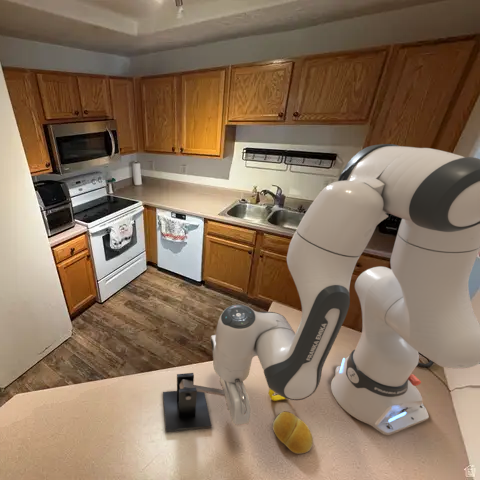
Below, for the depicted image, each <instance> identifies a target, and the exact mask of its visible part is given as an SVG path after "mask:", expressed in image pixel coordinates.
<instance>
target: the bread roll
mask: <svg viewBox="0 0 480 480" xmlns="http://www.w3.org/2000/svg"><path fill="white" fill-rule="evenodd" d="M271 426H272V429H273V431H274V434H275V436H276V437H277V439H278V440H279V441H280V442H281V443H282V444H284V445H285V446H286V448H288V449H289V451H291V452H292V453H294V454H305V453H308V452H310V451H311V449H312V446H313V443H314V442H313V441H314V440H313V435H312V432H311V430H310V428H309V426H308V425H307V424H306V423H305V422H304V420H302V419H300V418H299V417H298V416H296V414H294V413H293V412H291V411H282V412H280V413H278V415H277V416H276V418H275V419H274V420H273V422H272V424H271Z"/></svg>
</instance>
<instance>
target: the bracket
mask: <svg viewBox="0 0 480 480" xmlns="http://www.w3.org/2000/svg"><path fill="white" fill-rule="evenodd" d="M183 379H185V380H191V381H192V382H193V385H195V384H194V381H195V375H194V372H188V373H177V374H176V390H169V391H163V392H162V397H163V409H164V410H163V411H164V422H165V423H164V424H165V433H174V432H183V431H196V430H204V429H205V430H206V429H212V421H211V416H210V413H209V408H208V403H207V399H206V395H205V394H206V393H203V392H197V389H196V388H185V389H180V386H179V384H180V383H181V381H182V380H183Z"/></svg>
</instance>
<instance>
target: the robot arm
mask: <svg viewBox="0 0 480 480" xmlns="http://www.w3.org/2000/svg"><path fill="white" fill-rule="evenodd" d="M388 214H390V215H392V216H394V217H397V218H400V219H401V220H400V223H399V226H398V230H397V233H396V237H395V241H394V245H393V248H392V252H391V255H390V259H389V264H390V265H389V266H390V268H389V267H386V266H381V265H380V266H373V267H370V268H367V269H366V270H364V271H362V272H361V273H360V274H359V275H358V277H357V278H356V280H355V283H354V291H355V293H356V295H357V298H358V300H359V304H360V308H361V309H360V310H361V319H362V323H361V334H360V336H359V340H358V342H357V344H356V347H355V349H353V350H352V351H351V353H350V354H349V355H348V356H347V357H346V358H345V357H343V358H342V361H341V365H338V366H336V367H335V370H334V374H335V375H334V376H333V378H332V379H331V382H330V390H331V393H332V395H333V397H334V399H335V401H336V402H337V404H339V406H340V407H341V408H342V409H343V410H344V411H345V412H346V413H348V415H351V416H352V417H353V418H355V419H356V420H358V421H360V422H362V423H364V424H367V425H369V426H371V427H372V428H374V429H375V430H376V431H378V432H380V434H382V435H384V436H390V435H393V434H396V433H398V432H400V431H401V432H402V431H403V430H406V429H408V428H410V427H413V426H415V425H418V424H421V423H423V422H425V421H428V420H429V418H430V417H429V416H430V415H429V413H428V410H427V408H426V406H425V405H424V403H423V400H424V399H423V397H422V394H421V392H420V391H419V389H418V388H417V387H416V386H419V385H421V384H422V381H421V380H420V379H419V378H418V377H417V376H416V375H415V374H412V373H413V372H414V370H415V369H416V368H417V366H419V367H423V368H428V367H432V366H433V364H436V365H437V366H439V367H441V368H446V369H453V370H462V369H463V370H464V369H470V368H473V367H475V366H478V365H480V322H479V319H478V318H477V316H476V313H475V311H474V309H473V305H472V301H471V296H470V290H469V279H470V276H471V273H472V270H473V267H474V265H475V262H476V260H477V257H478V255H479V252H480V158H478V157H473V156H468V157H467V156H462V155H461V154H460V155H459V154H456V153H453V152H449V151H445V150H440V149H436V148H430V147H416V146H415V147H414V146H403V145H401V146H400V145H398V144H393V143H380V144H374V145H373V144H372V145H369V146H366V147H364V148H363V149H361V150H359V151H358V152H356V154H355V155H353V156H352V157H351V158H350V160H349V161H348V162H347V163H346V165H345V166H344V168H343V170H342V171H341V172H340V174H339V175H338V180H337V181H333V182H331V183H328V184H327V185H326V186H324V187H323V188H322V189H321V190H320V191H319V192H318V194H317V196H316V197H315V199H314V200H313V201H312V203H310V205H309V207H308V208H307V210H306V211H305V213H304V215H303V217H302V218H301V220H300V222H299V224H298V225H297V227H296V229H295V232H294V234H293V236H292V238H291V240H290V242H289V244H288V249H287V254H286V264H287V269H288V270H289V273H290V275H291V277H292V279H293V282H294V285H295V287H296V290H297V293H298V296H299V300H300V305H301V319H300V322H299V324H298V327H297V329H296V332H295V331H294V329H293V328H292V326H291V324H290V323H289V321H288V319H287V318H286V317H285V316H284V315H283V314H281V313H278V312H275V311H256V310H255V309H253V308H251V307H249V306H248V305H245V304H232V305H229V306H227V307H226V308H224V310H223V311H222V313H221V314H220V316H219V318H218V321H217V324H216V331H215V334H212V335H211V336H210V344H211V352H212V368H213V370H214V372H215V374H216V375H217V376H218V377H219V384H220V387H221V388H222V387H223V389H222V390H223V391H224V394H225V396H224V398H226V399H225V403H226V404H225V406H226V408H227V410H228V412H229V415H230V418H231V422H232V424H234V426H245V425H248V424H250V418H251V401H250V397H249V394H248V391H247V389H246V386H245V383H244V381H246V380H247V378H248V377H249V375H250V370H251V366H252V361H253V358H254V357H257V358H258V361H259V363H260V365H261V368H262V370H263V374H264V377H265V378H264V379H265V381H266V383H267V386H268V388H269V390H270V389H271V390H272V391H274V392H275V393H276V395H280V396H282V397H284V398H286V399H287V400H290V401H302V400H305V399H307V398H309V397H311V396H312V395H313V394H315V393H316V391H317V389H318V387H319V385H320V382H321V379H322V375H323V368H324V365H325V363H326V360H327V358H328V356H329V354H330V352H331V350H332V347H333V346H334V343H335V341H336V339H337V337H338V335H339V333H340V330H341V328H342V326H343V324H344V322H345V320H346V317H347V315H348V312H349V309H350V303H351V295H350V287H351V280H352V276H353V273H354V270H355V267H356V265H357V263H358V261H359V259H360V257H361V255H362V254H363V252H364V251H365V249H366V248H367V247H368V244H369V242H370V241H371V238H372V236H373V234H374V232H375V230H376V228H377V226H378V225H379V224H380V223H381V222H383V221H384V220H387V218H389V215H388ZM420 354H421V355H422V356H424V357H425V358H426V359H428V360H429V362H428V363H422V362H419V361H420ZM275 393H274V394H275ZM226 401H227V402H226Z"/></svg>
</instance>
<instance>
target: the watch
mask: <svg viewBox="0 0 480 480" xmlns="http://www.w3.org/2000/svg"><path fill="white" fill-rule="evenodd" d="M274 394H275V392H274V391H272V390H271V389H270V388H269V390H268V396H269V398H270V399H271V400H272V401H274V402H277V401H283V400H286V399H287V398H284V397H282V396H280V395H279V394H276V395H274Z"/></svg>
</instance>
